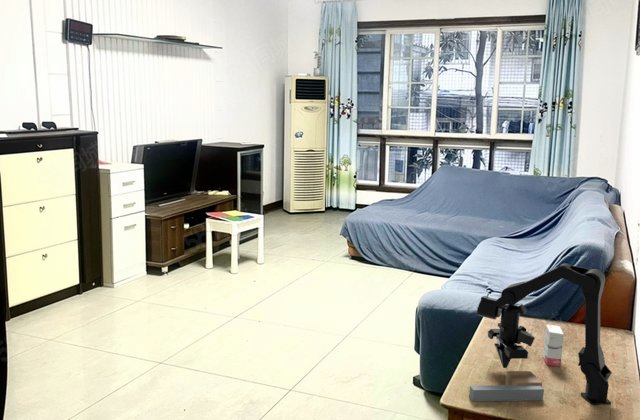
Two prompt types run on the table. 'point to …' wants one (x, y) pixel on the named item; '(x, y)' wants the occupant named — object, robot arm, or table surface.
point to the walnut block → (521, 378)
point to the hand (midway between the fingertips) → (504, 367)
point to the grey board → (505, 392)
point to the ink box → (553, 345)
